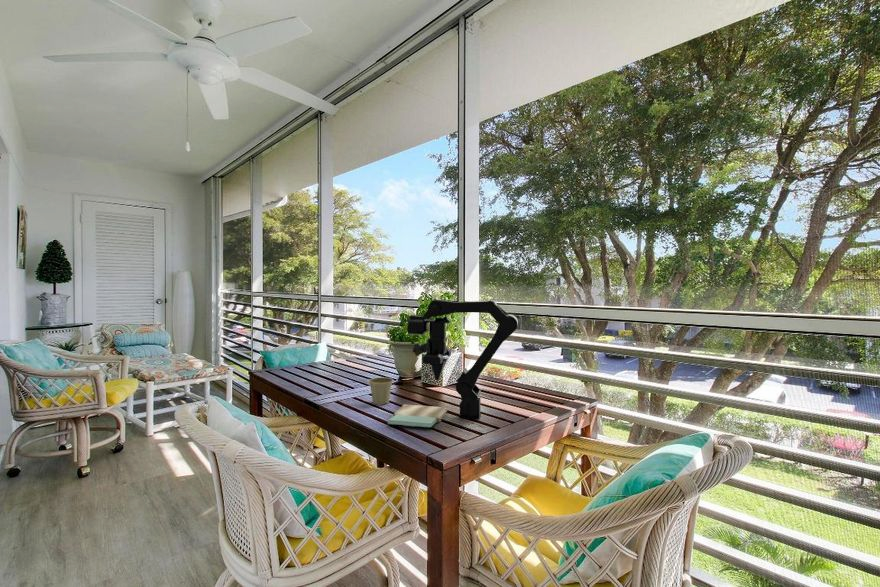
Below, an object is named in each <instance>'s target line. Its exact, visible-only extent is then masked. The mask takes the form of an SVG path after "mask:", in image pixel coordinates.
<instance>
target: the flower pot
mask: <svg viewBox="0 0 880 587" xmlns="http://www.w3.org/2000/svg"><path fill="white" fill-rule="evenodd" d="M393 382H394V379H393V378H390V377H373V378H370V379H368V383H369V386H370V390H371V399H372V403H373V404H374V405H384V404H386V405H387V404H389V403H390V398H391V391H392V385H393Z"/></svg>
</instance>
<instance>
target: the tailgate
mask: <svg viewBox="0 0 880 587" xmlns="http://www.w3.org/2000/svg"><path fill="white" fill-rule="evenodd" d="M436 423H438V422H437V418H432V417H419V416H407V415H395V416H391V417H390V418H389V419H388V420H387V425H402V426H405V427H414V428H415V427H421V428H422V427H423V428H432V427H433V426H434V424H436Z"/></svg>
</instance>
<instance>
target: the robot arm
mask: <svg viewBox="0 0 880 587" xmlns="http://www.w3.org/2000/svg"><path fill="white" fill-rule="evenodd" d="M456 313H457V314H458V313H461V314H462V313H488V314H489V315H490V316H491V317H492V318H493V319H494V321H496V322H497V323H498V326H497V328H496V331H495V333H494V334H493V337H492V339H490V341H489V342H488V344H487V345H486V346H485V348H484V350H483V351H482V353H481V354H480V355H479V357H478V358H477V359H476V361H475V363H473V365H472V366H471V367H470V368H469V369H467V368H464V369H463V370H462V371H461V374H460V375H459V376H458V377H457V379H456V380H455V382H456V384H455V390H456V392H457V393H458V395H459V396H460V398H461V401H460V402H459V418H460V419H466V420H468V419H469V420H480V418H481V415H482V412H481V404H482V403H481V402H482V401H481V399H482V398H481V397H480V394H481V393H482V392H481V391H482V390H481V388H479V387H478V386H477V382H478V381H479V377H480V376H481V374H482V372H483V371H484V369H485V367H486V366H488V364H489V362H490V361H491V359H492V358H493V356H494V355H495V354H496V353H497V351H498V350H499V348H500V347H501V346H502V344H503V343H504V342H505V341H506V340H507V339H508V338H509V337H510V336H512V334H514V332H515V331H516V330H517V329H518V326H519V321H518V318H517V317H516V316H515V315H514V314H510V313H508V312H507V311H505V310H504V309H503V308H502V306H500V305H498V304H497V302H496V301H495V300H492V299H490V300H479V301H478V300H477V301H476V300H474V301H453V300H446V299H434V300H431V301H430V302H429V304H428V305H427V311H425V313H424V314H423V315H413V314H412V315H409V319H408V322H407V323H408V324H407V327H406V328H407V329H406V330H407V333H408V335H419V336H425V335H426V333H429V334H428V335H429V337H428V338H427V339H426V342H424V343H422V344H421V343H420V342H418V343H415V344H414V345H413V347H412V353H413V354H414V355H415V357H417V356H419V355H422V354H424V355H423V356H422V358H421V363H422V364H425V365H427V364H428V365H430V366H431V367H432V372H433V375H434V380H436V381H439V380H440V378H441V375H442V373H443V371H444V367H445V366H446V364H447V361H448V358H446V357H445V358H444V356H447V357H450V356H452V350H451V349H450V347H446V341H447V340H448V338H447V336H446V334H447V332H446V331H447V328H446V327H447V324H450V323H452V319H451V318H449V316H448V315H451V314H456ZM442 316H444V317H442ZM434 317H435V318H434ZM433 318H434V320H433ZM425 353H426V354H425Z"/></svg>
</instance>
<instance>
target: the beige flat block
mask: <svg viewBox="0 0 880 587" xmlns="http://www.w3.org/2000/svg"><path fill="white" fill-rule="evenodd" d="M446 412H448V407H443V406H432V405H431V406H429V405H418V404H417V405H416V404H405V403H404V404H403V405H402V406H400V408H399V409H397V410H396V411H395V412H394V413H393V416H395V415H407V416H419V417H432V418H437V422H436V423H438V422H440V423H441V421H442V420H443V419H444V417H445V416H444V415H446V414H447V413H446ZM445 413H446V414H445ZM393 416H392V417H393ZM443 416H444V417H443ZM441 419H442V420H441Z"/></svg>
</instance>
